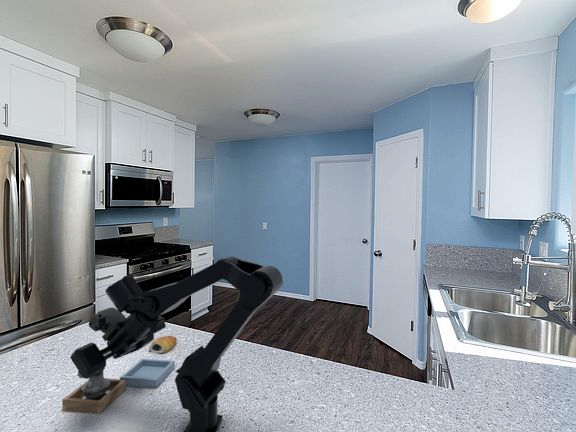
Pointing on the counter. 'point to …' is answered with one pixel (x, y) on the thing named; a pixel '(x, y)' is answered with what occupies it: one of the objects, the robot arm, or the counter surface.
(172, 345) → the pastry
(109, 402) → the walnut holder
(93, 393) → the grey stone chess piece
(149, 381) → the slate tray
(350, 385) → the counter surface
